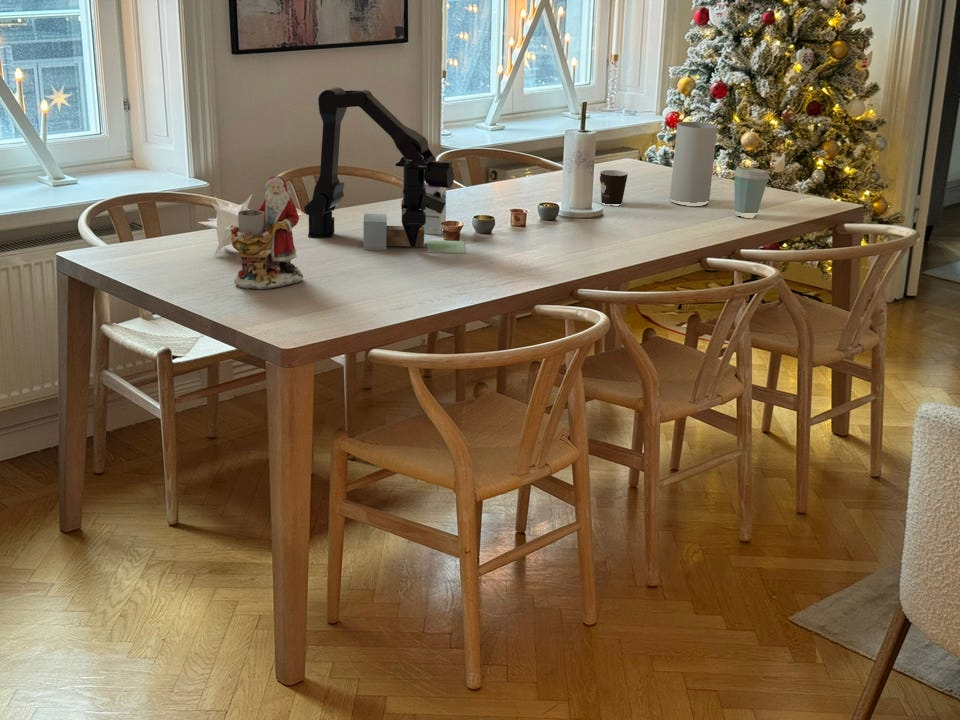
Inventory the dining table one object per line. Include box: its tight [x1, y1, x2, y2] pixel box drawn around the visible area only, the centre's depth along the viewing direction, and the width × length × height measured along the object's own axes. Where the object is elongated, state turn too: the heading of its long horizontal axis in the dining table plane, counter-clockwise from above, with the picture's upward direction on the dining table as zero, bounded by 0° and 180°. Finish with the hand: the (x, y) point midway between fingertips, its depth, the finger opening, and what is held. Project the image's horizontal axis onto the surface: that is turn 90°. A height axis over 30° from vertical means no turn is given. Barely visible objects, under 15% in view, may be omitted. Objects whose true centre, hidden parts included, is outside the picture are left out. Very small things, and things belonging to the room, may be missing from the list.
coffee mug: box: [599, 169, 629, 204], centre depth 373 cm, size 12×9×10 cm
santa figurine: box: [230, 175, 304, 290], centre depth 276 cm, size 17×14×25 cm
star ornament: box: [197, 194, 253, 257], centre depth 301 cm, size 20×14×14 cm
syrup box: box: [424, 182, 447, 236], centre depth 328 cm, size 6×6×14 cm
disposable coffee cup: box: [733, 167, 770, 214], centre depth 362 cm, size 11×11×15 cm
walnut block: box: [386, 225, 425, 248], centre depth 314 cm, size 16×4×4 cm, turn 94°
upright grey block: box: [362, 212, 388, 251], centre depth 313 cm, size 6×9×8 cm, turn 4°
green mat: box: [426, 239, 467, 254], centre depth 316 cm, size 10×12×1 cm
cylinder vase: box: [669, 121, 718, 203], centre depth 375 cm, size 12×12×25 cm
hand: (412, 241), depth 315 cm, fingers open, 9 cm apart
